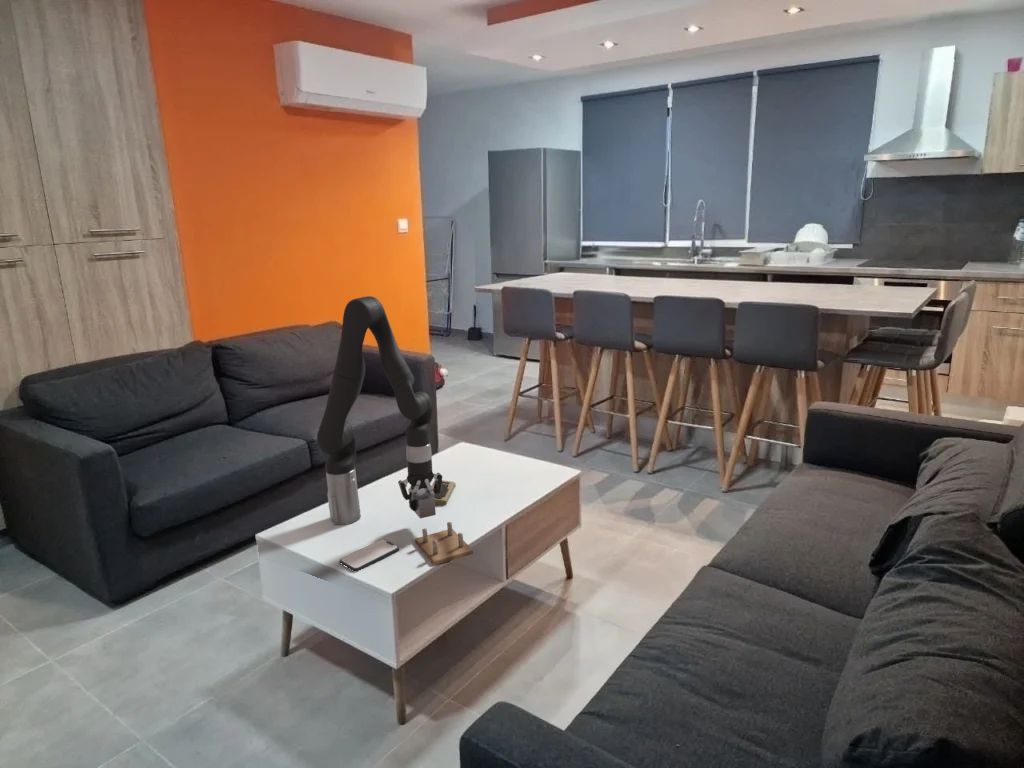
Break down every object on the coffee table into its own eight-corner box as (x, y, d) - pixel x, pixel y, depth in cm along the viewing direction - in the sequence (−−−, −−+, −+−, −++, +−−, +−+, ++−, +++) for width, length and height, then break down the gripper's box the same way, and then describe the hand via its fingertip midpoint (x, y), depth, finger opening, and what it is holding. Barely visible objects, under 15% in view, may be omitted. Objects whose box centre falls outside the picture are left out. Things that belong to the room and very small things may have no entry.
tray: (434, 565, 187) (432, 548, 186) (415, 542, 201) (413, 526, 200) (473, 553, 193) (472, 537, 191) (452, 532, 206) (450, 516, 205)
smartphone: (355, 575, 186) (401, 551, 197) (355, 569, 185) (401, 546, 197) (338, 564, 192) (383, 542, 203) (337, 559, 191) (382, 537, 202)
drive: (420, 518, 203) (419, 499, 201) (409, 506, 212) (408, 487, 210) (435, 514, 205) (434, 496, 204) (424, 502, 214) (423, 484, 212)
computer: (446, 506, 226) (445, 497, 225) (423, 506, 227) (422, 497, 226) (456, 487, 241) (455, 479, 240) (434, 487, 242) (433, 479, 241)
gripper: (400, 465, 198) (403, 518, 202) (445, 456, 204) (448, 507, 208) (392, 457, 204) (396, 508, 208) (436, 449, 210) (439, 499, 215)
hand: (422, 508), depth 208 cm, fingers closed on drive, 5 cm apart
